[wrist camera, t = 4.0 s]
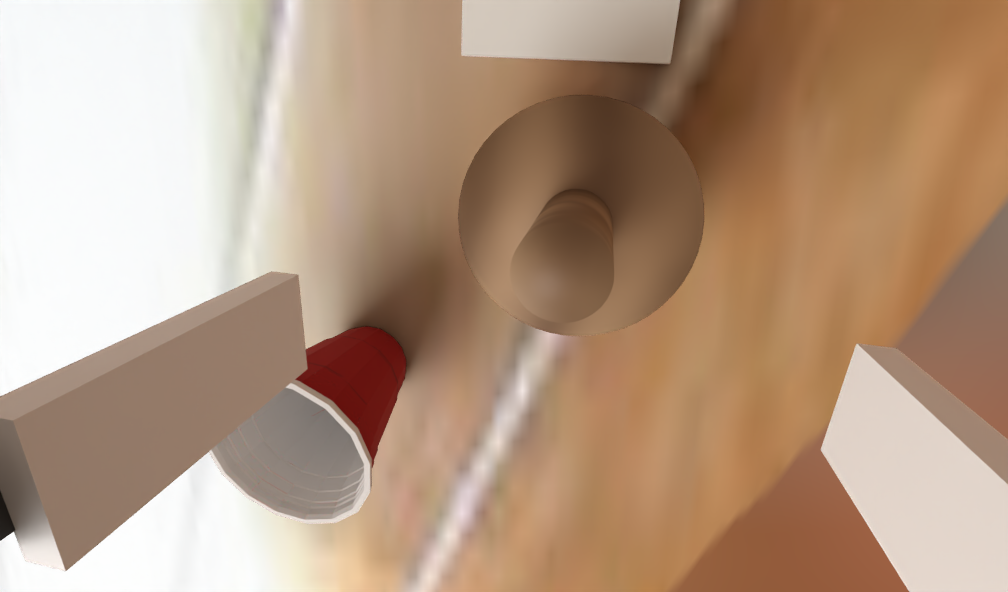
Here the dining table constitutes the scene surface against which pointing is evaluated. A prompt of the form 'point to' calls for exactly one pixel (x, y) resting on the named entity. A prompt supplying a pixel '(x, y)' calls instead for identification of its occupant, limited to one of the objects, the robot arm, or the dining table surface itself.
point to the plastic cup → (319, 431)
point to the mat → (571, 29)
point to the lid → (581, 215)
